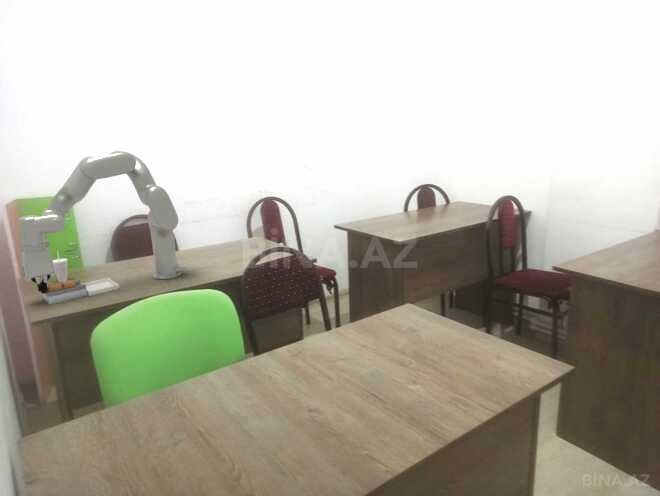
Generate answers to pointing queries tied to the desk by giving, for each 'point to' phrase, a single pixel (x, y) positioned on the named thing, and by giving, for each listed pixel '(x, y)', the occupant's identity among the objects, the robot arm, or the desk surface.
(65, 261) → the smoothie
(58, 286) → the chip
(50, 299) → the slot block
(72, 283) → the orange square block
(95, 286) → the tray
